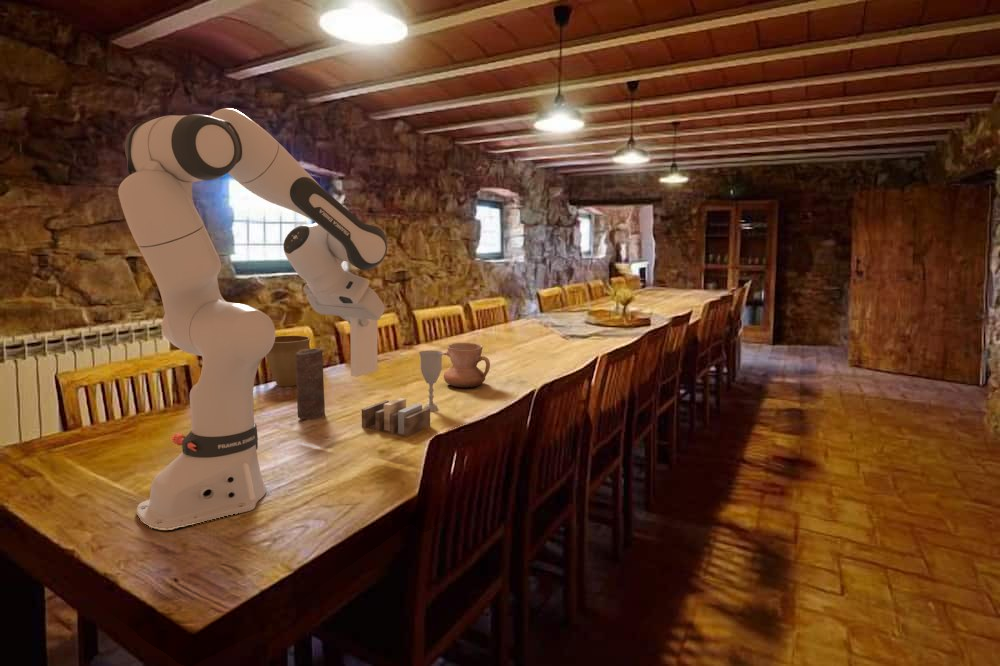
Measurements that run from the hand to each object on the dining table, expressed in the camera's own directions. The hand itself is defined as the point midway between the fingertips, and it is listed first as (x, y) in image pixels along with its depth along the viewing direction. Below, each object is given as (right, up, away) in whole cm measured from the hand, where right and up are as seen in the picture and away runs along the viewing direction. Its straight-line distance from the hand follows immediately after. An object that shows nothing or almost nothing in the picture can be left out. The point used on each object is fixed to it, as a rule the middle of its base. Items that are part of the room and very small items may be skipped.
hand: (360, 324), depth 148 cm
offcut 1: (+7, -27, +10) cm, 30 cm away
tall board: (0, -13, +3) cm, 13 cm away
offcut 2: (+11, -28, +8) cm, 31 cm away
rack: (+7, -28, +10) cm, 31 cm away
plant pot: (-38, -20, +55) cm, 70 cm away
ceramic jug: (+23, -21, +59) cm, 66 cm away
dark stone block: (-18, -27, +18) cm, 37 cm away
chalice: (+15, -26, +27) cm, 40 cm away
